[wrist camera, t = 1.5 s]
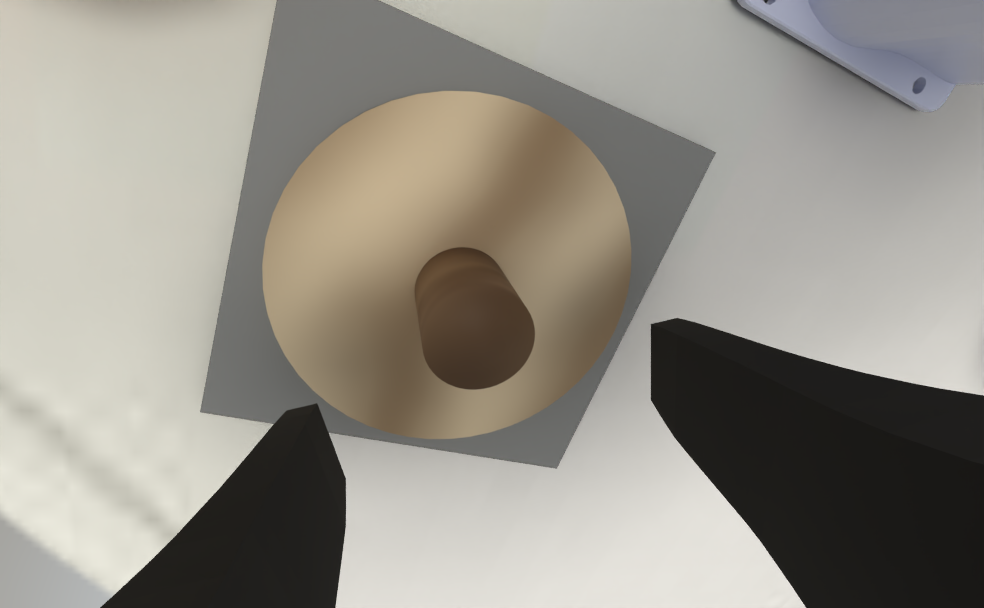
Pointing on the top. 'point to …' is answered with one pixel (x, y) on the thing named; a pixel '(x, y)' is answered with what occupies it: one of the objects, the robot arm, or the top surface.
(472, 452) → the mat
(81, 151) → the top surface
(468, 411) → the lid
